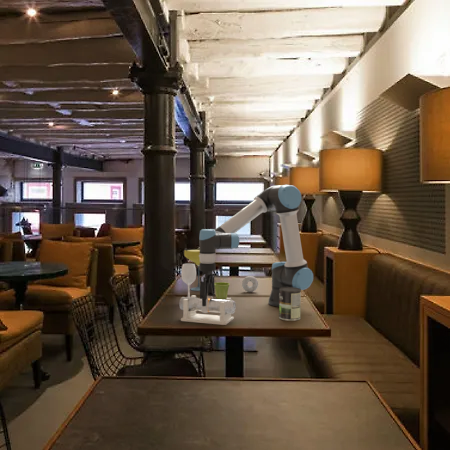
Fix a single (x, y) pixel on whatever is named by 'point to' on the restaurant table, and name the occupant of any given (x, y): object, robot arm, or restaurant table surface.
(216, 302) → the air tube
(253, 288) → the donut
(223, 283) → the plant pot
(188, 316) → the collar stand
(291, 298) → the coffee can
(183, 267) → the wineglass
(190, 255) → the cocktail glass
